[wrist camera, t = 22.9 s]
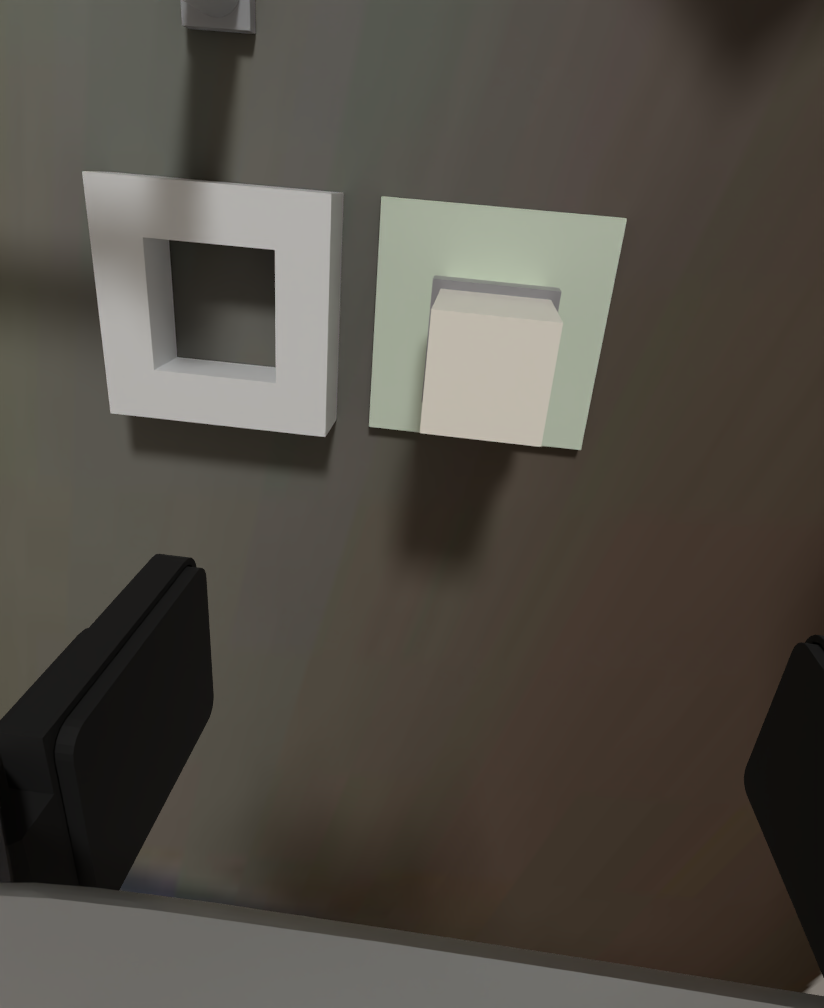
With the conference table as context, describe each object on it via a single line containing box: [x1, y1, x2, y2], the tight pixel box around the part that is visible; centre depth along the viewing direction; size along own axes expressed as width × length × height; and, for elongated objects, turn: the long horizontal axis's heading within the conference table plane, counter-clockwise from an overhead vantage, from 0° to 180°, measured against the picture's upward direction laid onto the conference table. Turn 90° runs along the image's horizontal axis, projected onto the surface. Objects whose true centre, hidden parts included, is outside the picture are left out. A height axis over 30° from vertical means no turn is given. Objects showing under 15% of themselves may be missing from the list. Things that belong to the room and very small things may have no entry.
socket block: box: [82, 0, 344, 437], centre depth 30 cm, size 12×22×12 cm, turn 175°
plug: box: [420, 275, 563, 447], centre depth 31 cm, size 6×6×10 cm
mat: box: [369, 196, 627, 450], centre depth 36 cm, size 12×12×1 cm
